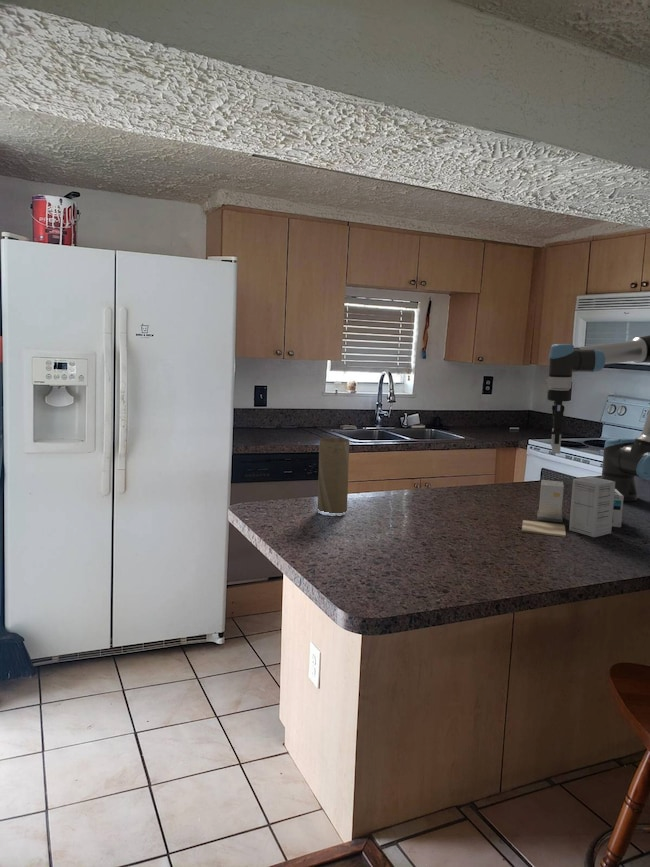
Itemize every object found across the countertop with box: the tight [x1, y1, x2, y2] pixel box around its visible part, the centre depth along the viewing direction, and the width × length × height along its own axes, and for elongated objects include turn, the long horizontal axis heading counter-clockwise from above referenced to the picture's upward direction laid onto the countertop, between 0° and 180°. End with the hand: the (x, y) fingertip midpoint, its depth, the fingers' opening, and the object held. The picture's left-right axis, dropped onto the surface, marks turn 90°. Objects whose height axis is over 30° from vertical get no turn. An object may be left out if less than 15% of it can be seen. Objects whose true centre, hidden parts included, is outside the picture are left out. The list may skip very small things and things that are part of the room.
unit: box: [536, 479, 565, 523], centre depth 221 cm, size 9×8×12 cm
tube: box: [317, 436, 350, 513], centre depth 219 cm, size 10×10×25 cm
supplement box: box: [568, 476, 615, 538], centre depth 206 cm, size 10×9×17 cm
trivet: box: [521, 519, 567, 538], centre depth 209 cm, size 12×13×1 cm
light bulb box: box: [612, 489, 624, 528], centre depth 218 cm, size 11×7×11 cm, turn 168°
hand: (555, 449), depth 228 cm, fingers open, 13 cm apart
